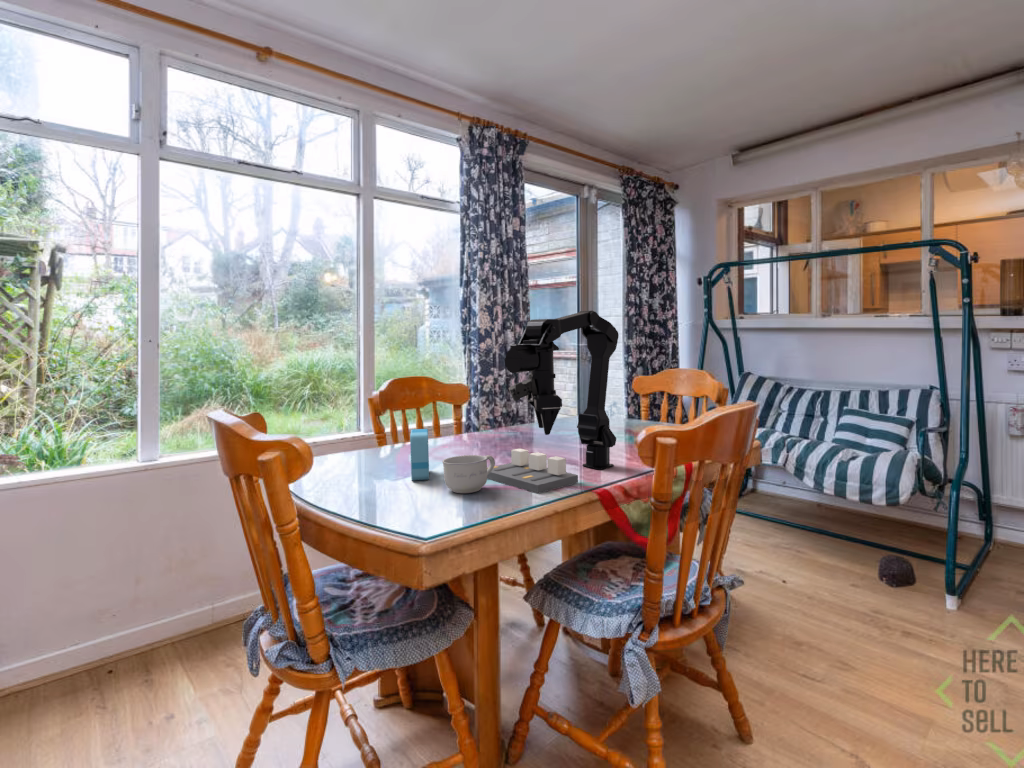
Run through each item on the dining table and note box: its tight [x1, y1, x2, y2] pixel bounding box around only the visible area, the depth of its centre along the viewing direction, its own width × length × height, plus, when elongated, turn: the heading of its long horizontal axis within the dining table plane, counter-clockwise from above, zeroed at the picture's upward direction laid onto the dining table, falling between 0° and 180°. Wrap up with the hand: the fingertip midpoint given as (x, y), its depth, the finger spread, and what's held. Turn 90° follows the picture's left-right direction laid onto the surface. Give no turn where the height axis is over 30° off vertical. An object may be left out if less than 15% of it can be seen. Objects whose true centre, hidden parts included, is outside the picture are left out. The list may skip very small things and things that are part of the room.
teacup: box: [442, 454, 496, 494], centre depth 141 cm, size 14×11×8 cm
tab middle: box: [528, 451, 548, 470], centre depth 152 cm, size 3×4×4 cm
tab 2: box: [547, 455, 567, 475], centre depth 146 cm, size 3×4×4 cm
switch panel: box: [487, 462, 579, 494], centre depth 150 cm, size 14×22×2 cm, turn 41°
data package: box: [409, 428, 430, 482], centre depth 155 cm, size 12×4×12 cm, turn 8°
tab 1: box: [510, 448, 529, 466], centre depth 157 cm, size 3×4×4 cm
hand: (544, 431), depth 146 cm, fingers open, 9 cm apart
